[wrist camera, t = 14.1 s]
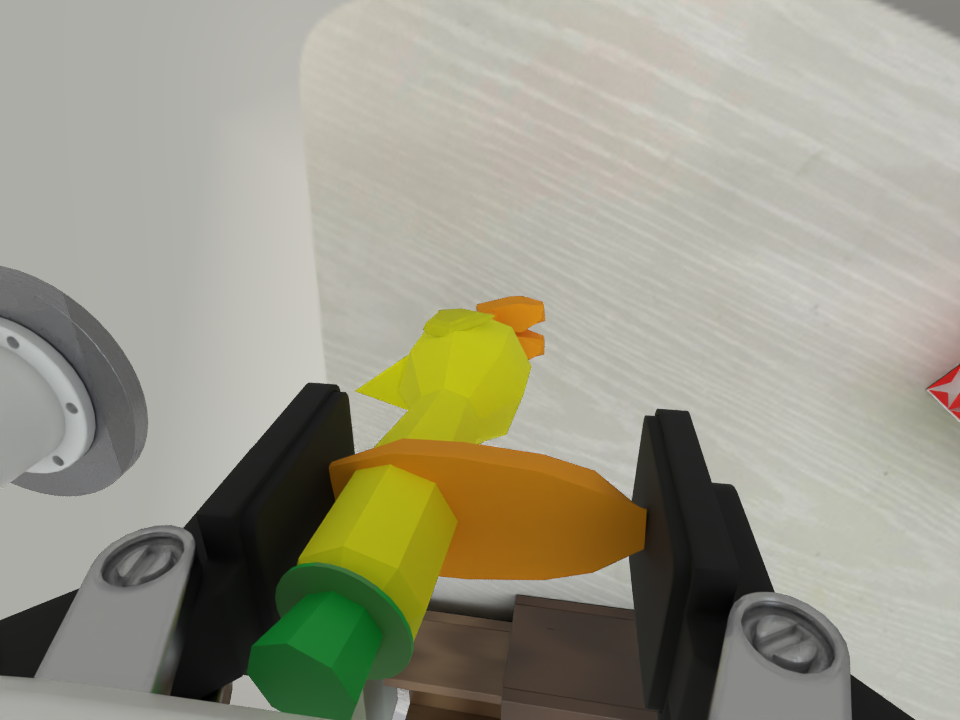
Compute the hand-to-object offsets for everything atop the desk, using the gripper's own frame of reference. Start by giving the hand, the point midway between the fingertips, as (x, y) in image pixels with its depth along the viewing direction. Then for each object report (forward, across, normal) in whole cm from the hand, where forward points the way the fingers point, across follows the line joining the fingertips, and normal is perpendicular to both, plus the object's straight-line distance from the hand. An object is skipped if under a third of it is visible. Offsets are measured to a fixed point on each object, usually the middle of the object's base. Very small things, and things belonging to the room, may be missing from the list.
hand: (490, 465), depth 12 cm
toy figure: (+7, 0, 0) cm, 7 cm away
